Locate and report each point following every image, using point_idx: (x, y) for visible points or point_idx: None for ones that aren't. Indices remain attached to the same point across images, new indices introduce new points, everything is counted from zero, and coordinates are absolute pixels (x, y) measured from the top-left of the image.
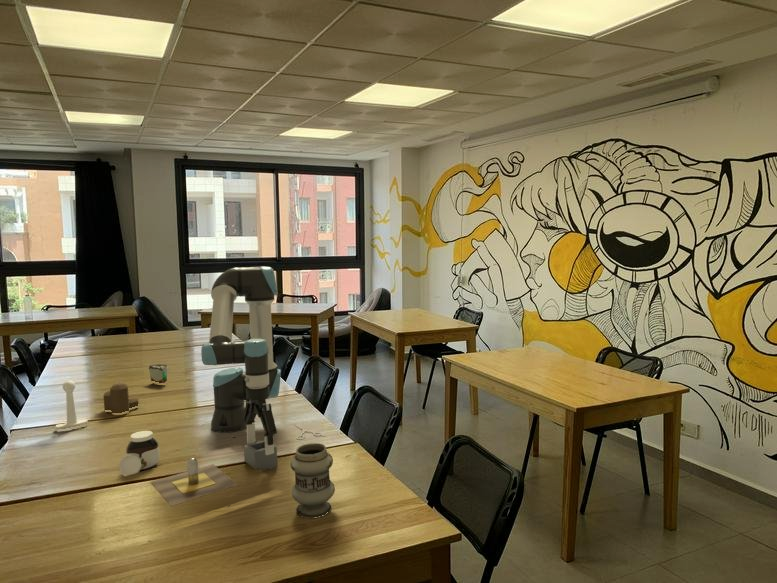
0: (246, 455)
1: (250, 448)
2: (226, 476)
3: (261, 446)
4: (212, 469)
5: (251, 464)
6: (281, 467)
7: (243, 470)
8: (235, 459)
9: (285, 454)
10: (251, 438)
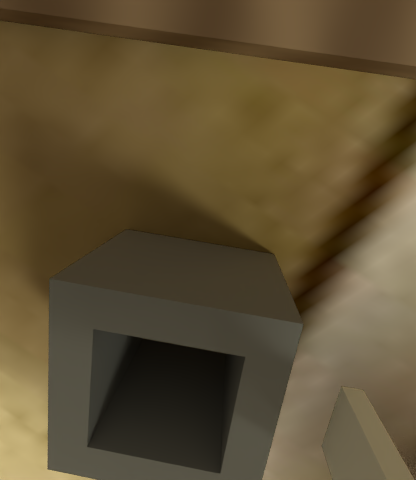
0: (244, 277)
1: (177, 318)
2: (152, 19)
3: (225, 422)
4: (360, 4)
5: (166, 248)
6: None
7: (218, 207)
8: (410, 271)
9: None
10: (350, 459)
